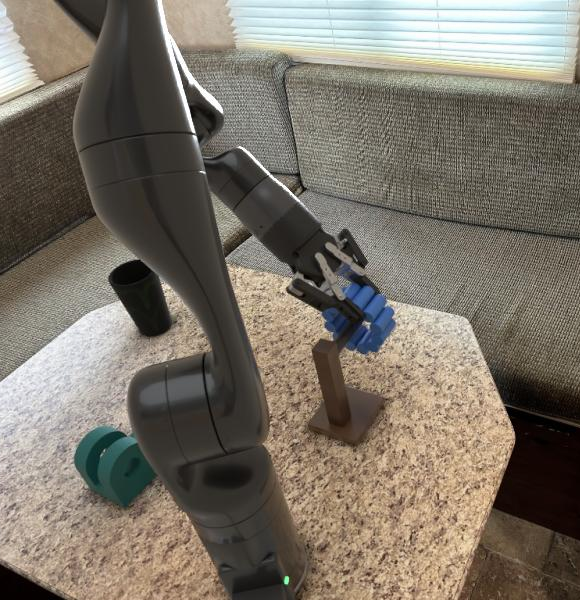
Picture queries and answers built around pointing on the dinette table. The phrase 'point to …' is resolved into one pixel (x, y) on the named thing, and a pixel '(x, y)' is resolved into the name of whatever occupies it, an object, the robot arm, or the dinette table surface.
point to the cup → (141, 297)
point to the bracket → (113, 465)
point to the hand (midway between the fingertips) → (369, 309)
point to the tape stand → (341, 393)
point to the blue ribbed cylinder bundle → (374, 313)
